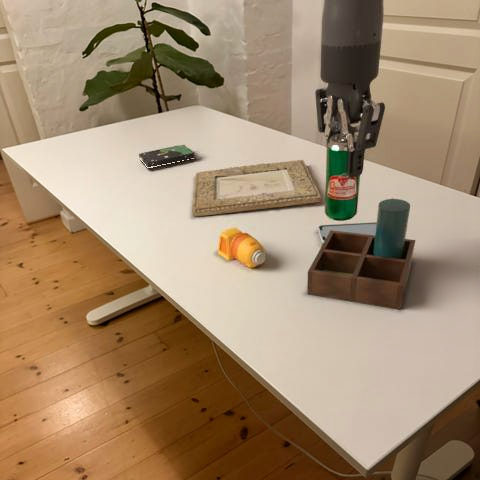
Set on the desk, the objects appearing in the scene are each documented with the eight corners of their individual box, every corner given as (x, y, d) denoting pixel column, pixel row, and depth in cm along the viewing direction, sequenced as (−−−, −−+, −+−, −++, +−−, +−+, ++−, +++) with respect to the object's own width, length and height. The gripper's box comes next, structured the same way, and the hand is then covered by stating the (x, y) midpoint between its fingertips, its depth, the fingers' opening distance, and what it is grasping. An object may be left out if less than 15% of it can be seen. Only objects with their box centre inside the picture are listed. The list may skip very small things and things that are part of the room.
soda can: (323, 222, 72) (326, 143, 65) (325, 208, 76) (327, 133, 69) (357, 222, 71) (363, 143, 64) (356, 208, 75) (362, 132, 68)
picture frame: (196, 177, 129) (194, 168, 127) (303, 165, 128) (303, 155, 127) (193, 219, 108) (191, 209, 106) (322, 204, 107) (322, 193, 106)
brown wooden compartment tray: (411, 262, 85) (415, 239, 82) (400, 309, 74) (403, 285, 72) (329, 251, 91) (330, 230, 88) (307, 294, 80) (307, 271, 77)
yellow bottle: (273, 266, 88) (237, 243, 96) (272, 241, 85) (235, 219, 93) (250, 277, 86) (215, 252, 94) (248, 251, 82) (212, 228, 90)
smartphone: (399, 238, 91) (322, 242, 91) (398, 242, 92) (322, 246, 92) (389, 221, 97) (317, 225, 97) (388, 225, 97) (317, 229, 98)
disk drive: (149, 172, 135) (196, 161, 139) (146, 163, 133) (194, 151, 137) (140, 162, 143) (185, 152, 147) (138, 153, 141) (183, 143, 145)
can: (402, 262, 84) (412, 200, 77) (398, 276, 81) (408, 212, 73) (374, 258, 86) (381, 197, 79) (369, 272, 83) (376, 209, 75)
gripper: (412, 39, 54) (394, 179, 65) (345, 30, 65) (339, 152, 76) (357, 48, 52) (348, 191, 63) (298, 37, 63) (298, 161, 74)
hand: (343, 169), depth 69 cm, fingers closed on soda can, 5 cm apart
